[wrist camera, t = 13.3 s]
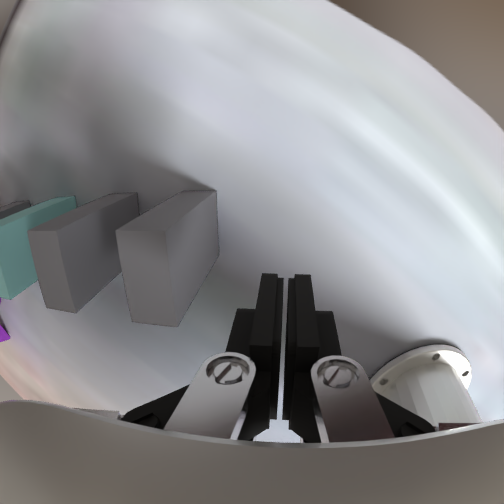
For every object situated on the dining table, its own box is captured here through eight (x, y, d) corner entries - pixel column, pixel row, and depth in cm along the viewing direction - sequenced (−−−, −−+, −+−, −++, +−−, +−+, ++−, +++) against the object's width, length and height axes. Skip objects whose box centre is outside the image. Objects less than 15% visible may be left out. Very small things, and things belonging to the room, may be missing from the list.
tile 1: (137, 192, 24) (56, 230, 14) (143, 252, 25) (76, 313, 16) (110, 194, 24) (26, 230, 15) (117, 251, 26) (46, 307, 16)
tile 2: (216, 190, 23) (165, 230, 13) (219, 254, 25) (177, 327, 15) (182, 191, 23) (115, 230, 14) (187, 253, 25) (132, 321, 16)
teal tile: (75, 196, 24) (-8, 230, 15) (83, 249, 26) (10, 299, 17) (54, 197, 25) (-26, 231, 15) (63, 248, 26) (-8, 295, 17)
